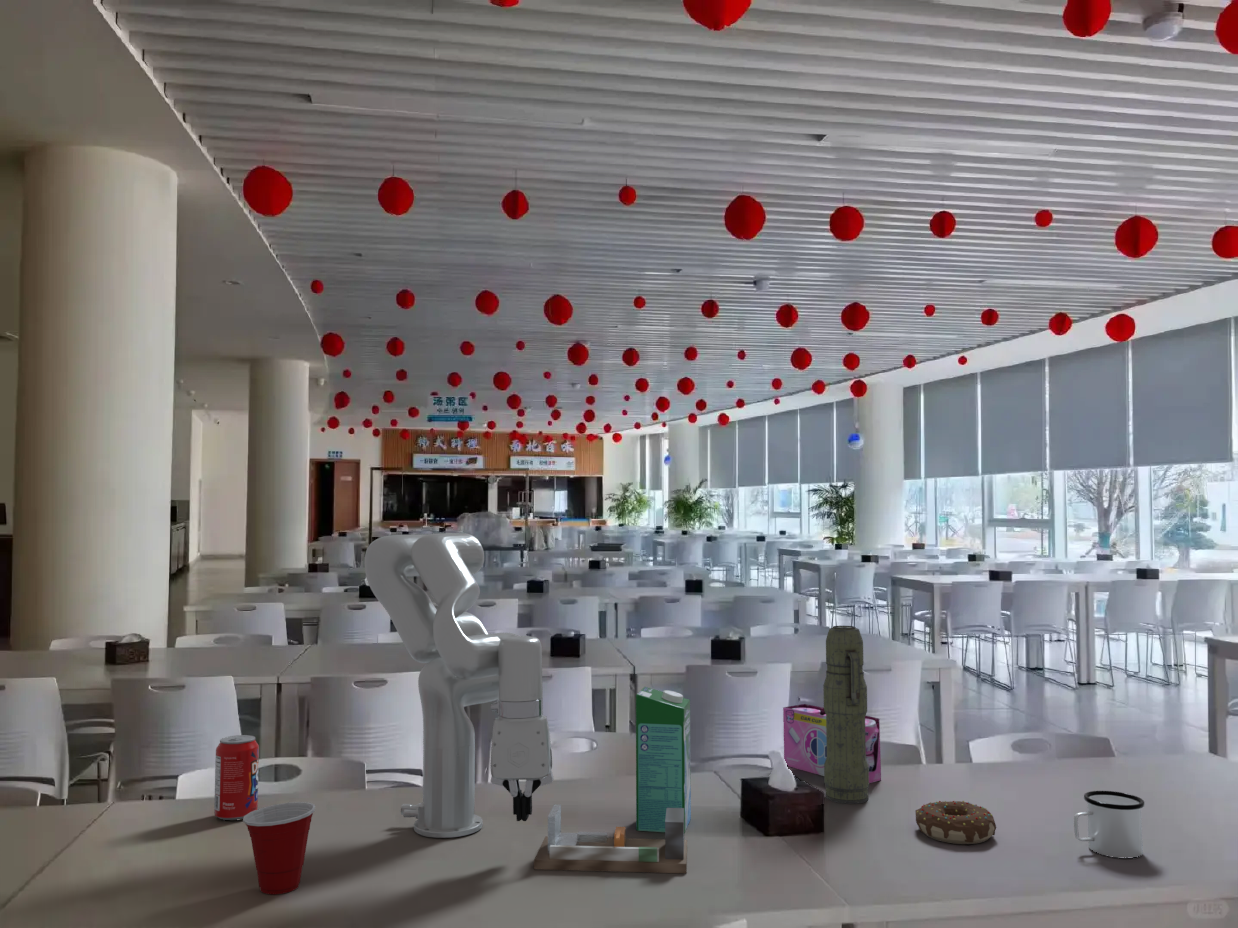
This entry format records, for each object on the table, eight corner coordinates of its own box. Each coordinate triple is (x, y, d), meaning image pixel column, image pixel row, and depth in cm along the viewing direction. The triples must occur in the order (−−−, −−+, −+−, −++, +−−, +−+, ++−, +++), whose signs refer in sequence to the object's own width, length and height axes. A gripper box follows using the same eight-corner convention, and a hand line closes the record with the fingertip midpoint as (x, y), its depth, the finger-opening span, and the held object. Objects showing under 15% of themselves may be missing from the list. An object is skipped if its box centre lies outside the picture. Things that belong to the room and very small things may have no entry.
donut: (1007, 834, 177) (1007, 806, 177) (976, 853, 167) (976, 823, 167) (933, 818, 187) (932, 792, 187) (899, 835, 177) (899, 807, 177)
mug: (1123, 841, 173) (1121, 789, 173) (1159, 859, 164) (1157, 804, 164) (1060, 844, 172) (1058, 791, 172) (1092, 862, 162) (1090, 807, 163)
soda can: (204, 820, 186) (206, 740, 187) (235, 808, 193) (236, 732, 194) (236, 824, 183) (238, 744, 184) (266, 813, 190) (267, 735, 191)
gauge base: (533, 869, 159) (534, 822, 160) (545, 845, 171) (545, 801, 172) (686, 873, 157) (686, 826, 158) (687, 848, 169) (686, 804, 170)
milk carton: (684, 834, 177) (683, 695, 179) (636, 831, 179) (635, 693, 181) (690, 819, 186) (690, 687, 188) (644, 816, 188) (644, 685, 189)
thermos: (851, 788, 207) (849, 623, 210) (880, 803, 196) (877, 629, 198) (814, 791, 205) (811, 624, 207) (840, 807, 194) (838, 630, 196)
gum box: (887, 782, 213) (886, 719, 214) (864, 788, 208) (863, 723, 209) (805, 760, 232) (804, 703, 233) (782, 765, 227) (781, 706, 228)
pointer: (612, 855, 159) (612, 837, 159) (616, 841, 166) (616, 824, 167) (622, 855, 159) (622, 838, 159) (625, 841, 166) (625, 824, 167)
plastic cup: (252, 876, 157) (254, 800, 157) (321, 874, 157) (322, 798, 158) (231, 902, 146) (233, 821, 146) (305, 900, 147) (306, 819, 147)
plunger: (547, 853, 162) (547, 816, 162) (554, 839, 169) (554, 804, 169) (605, 854, 161) (605, 817, 161) (608, 840, 168) (608, 805, 168)
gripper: (473, 713, 164) (474, 825, 162) (561, 712, 163) (563, 825, 161) (483, 706, 171) (484, 813, 170) (567, 705, 170) (569, 812, 169)
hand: (522, 818), depth 165 cm, fingers closed
